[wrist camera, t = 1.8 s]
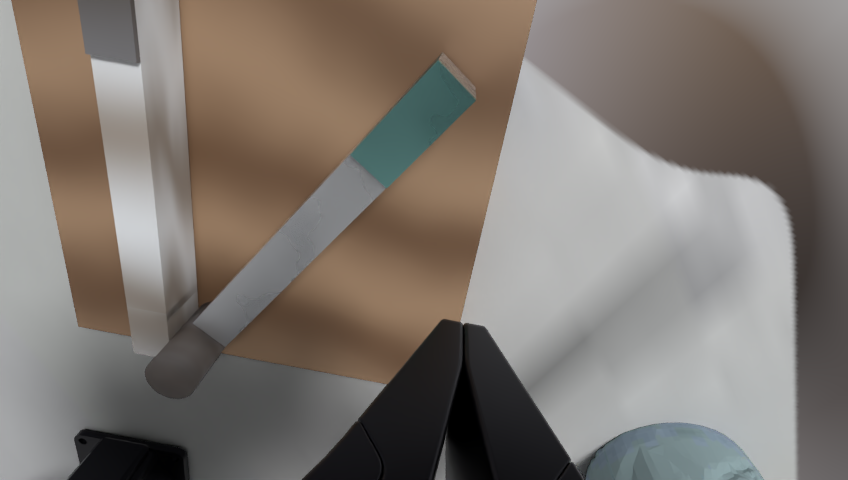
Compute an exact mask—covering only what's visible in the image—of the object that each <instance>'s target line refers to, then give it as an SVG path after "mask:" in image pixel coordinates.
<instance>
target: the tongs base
mask: <svg viewBox="0 0 848 480" xmlns="http://www.w3.org/2000/svg"><path fill="white" fill-rule="evenodd" d="M11 1H12V6H13V11H14V16H15V21H16V25H17V30H18V35H19V40H20V45H21V50H22V55H23V59H24V64H25V69H26V74H27V79H28V84H29V89H30V93H31V98H32V103H33V108H34V113H35V118H36V123H37V127H38V132H39V137H40V142H41V147H42V152H43V157H44V161H45V166H46V171H47V176H48V181H49V186H50V191H51V196H52V200H53V205H54V210H55V215H56V220H57V225H58V230H59V234H60V239H61V244H62V249H63V254H64V259H65V264H66V268H67V273H68V278H69V283H70V288H71V293H72V298H73V302H74V307H75V312H76V317H77V322H78V326H79V327H84V328H89V329H95V330H100V331H105V332H111V333H116V334H121V335H127V336H131V338H132V345H133V352H134V353H136V354H141V355H147V356H152V357H155V358H154V359H153V360H152V361H151V362H150V363H149V364H148V365H147V367H146V369H145V377H146V380H147V382H148V383H149V385H150V386H151V387H152V388H153V389H154V390H155V391H156V392H158V393H159V394H161V395H163V396H166V397H169V398H173V399H182V398H186V397H188V396H190V395H191V394H192V393H193V392H194V390H195V389H196V387H197V386H198V385H199V383H200V382H201V380H202V379H203V378H204V376H205V375H206V373H207V372H208V371H209V369H210V368H211V367H212V365H213V364H214V362H215V361H216V360H217V358H218V357H219V355H220V354H221V353H223V354H229V355H234V356H239V357H245V358H250V359H255V360H261V361H266V362H271V363H277V364H282V365H288V366H293V367H298V368H304V369H309V370H314V371H320V372H325V373H330V374H336V375H341V376H346V377H352V378H357V379H363V380H368V381H373V382H379V383H384V384H388V383H389V382H390V381H391V379H392V378H393V377H394V376H395V375H396V373H397V372H398V371H399V370H400V369H401V367H402V366H403V365H404V364H405V363H406V361H407V360H408V359H409V358H410V357H411V355H412V354H413V353H414V352H415V351H416V349H417V348H418V347H419V346H420V345H421V343H422V342H423V341H424V340H425V339H426V337H427V336H428V335H429V334H430V333H431V331H432V330H433V329H434V328H435V327H436V325H437V324H438V323H439V322H440V321H441V320H442V319H448V320H453V321H459V322H460V320H461V316H462V312H463V307H464V303H465V299H466V295H467V291H468V287H469V282H470V278H471V274H472V270H473V266H474V261H475V257H476V253H477V249H478V245H479V241H480V236H481V232H482V228H483V224H484V220H485V215H486V211H487V207H488V203H489V199H490V195H491V190H492V186H493V182H494V178H495V174H496V170H497V165H498V161H499V157H500V153H501V149H502V144H503V140H504V136H505V132H506V128H507V124H508V119H509V115H510V111H511V107H512V103H513V98H514V94H515V90H516V86H517V82H518V78H519V73H520V69H521V65H522V61H523V57H524V52H525V48H526V44H527V40H528V36H529V31H530V27H531V23H532V19H533V15H534V11H535V6H536V2H537V0H11ZM442 53H444V54H445V55H446V56H447V57H448V58H449V59H450V60H451V61H452V62H453V63H454V64H455V66H456V67H457V68H458V69H459V70H460V71H461V72H462V73H463V74H464V75H465V76H466V77H467V78H468V79H469V80H470V82H471V83H472V84H473V85H474V86H475V87H476V101H475V102H474V103H473V104H472V105H471V106H470V107H469V108H468V109H467V110H466V111H465V112H464V113H463V114H462V115H461V116H460V117H459V118H458V119H457V120H456V121H455V122H454V123H453V124H452V125H451V126H450V127H449V128H448V129H447V130H446V131H445V132H444V133H443V134H442V135H441V136H440V137H439V138H438V139H436V140H435V141H434V142H433V143H432V144H431V145H430V146H429V147H428V148H427V149H426V150H425V151H424V152H423V153H422V154H421V155H420V156H419V157H418V158H417V159H416V160H415V161H414V162H413V163H412V164H411V165H410V166H409V167H408V168H407V169H406V170H405V171H404V172H403V173H402V174H401V175H400V176H399V177H398V178H397V179H396V180H395V181H394V182H393V183H392V184H391V185H390V186H389V187H388V188H386V189H385V190H384V191H383V192H382V193H381V194H380V195H379V196H378V197H377V198H376V199H375V200H374V201H373V202H372V203H371V204H370V205H369V206H368V207H366V208H365V209H364V210H363V211H362V212H361V213H360V214H359V215H358V216H357V217H356V218H355V219H354V220H353V221H352V222H351V223H350V224H349V225H348V226H347V227H346V228H345V229H344V230H343V231H342V232H341V233H340V234H339V235H338V236H337V237H336V238H335V239H334V240H333V241H332V242H331V243H330V244H329V245H328V246H327V247H326V248H325V249H324V250H323V251H322V252H321V253H320V254H319V255H318V256H317V257H316V258H315V259H314V260H313V261H312V262H311V263H310V264H309V265H308V266H307V267H306V268H305V269H304V270H303V271H302V272H301V273H300V274H299V275H298V276H297V277H296V278H295V279H294V280H293V281H292V282H291V283H290V284H289V285H288V286H287V287H286V288H285V289H284V290H283V291H282V292H281V293H280V294H278V295H277V296H276V297H275V298H274V299H273V300H272V301H271V302H270V303H269V304H268V305H267V306H266V307H265V308H264V309H263V310H262V311H261V312H260V313H259V314H258V315H257V316H256V317H255V318H254V319H253V320H252V321H251V322H250V323H249V324H248V325H247V326H246V327H245V328H244V329H243V330H242V331H241V332H240V333H239V334H238V335H237V336H236V337H235V338H234V339H233V340H232V341H231V342H230V343H229V344H228V345H227V346H226V347H224V346H223V345H222V344H220V343H219V342H217V341H216V340H215V339H213V338H212V337H211V336H209V335H208V334H206V333H205V332H204V331H202V330H201V329H200V328H198V327H197V326H195V325H194V324H193V322H194V321H195V320H196V319H197V318H198V317H199V315H200V314H201V313H202V312H203V311H204V310H205V309H206V307H207V306H208V305H209V304H210V303H211V302H212V301H213V299H214V298H215V297H216V296H217V295H218V294H219V293H220V291H221V290H222V289H223V288H224V287H225V286H226V285H227V284H228V283H229V282H230V281H231V280H232V278H233V277H234V276H235V275H236V274H237V273H238V272H239V271H240V270H241V269H242V268H243V267H244V266H245V264H246V263H247V262H248V261H249V260H250V259H251V258H252V257H253V256H254V255H255V254H256V253H257V252H258V250H259V249H260V248H261V247H262V246H263V245H264V244H265V243H266V242H267V241H268V240H269V239H270V238H271V236H272V235H273V234H274V233H275V232H276V231H277V230H278V229H279V228H280V227H281V226H282V225H283V224H284V223H285V221H286V220H287V219H288V218H289V217H290V216H291V215H292V214H293V213H294V212H295V211H296V210H297V209H298V207H299V206H300V205H301V204H302V203H303V202H304V201H305V200H306V199H307V198H308V197H309V196H310V195H311V193H312V192H313V191H314V190H315V189H316V188H317V187H318V186H319V185H320V184H321V183H322V182H323V181H324V179H325V178H326V177H327V176H328V175H329V174H330V173H331V172H332V171H333V170H334V169H335V168H336V167H337V165H338V164H339V163H340V162H341V161H342V160H343V159H344V158H345V157H346V156H347V155H348V154H349V153H350V151H351V150H352V149H353V148H354V147H355V146H356V145H357V144H358V143H359V142H360V141H361V140H362V139H363V138H364V136H365V135H366V134H367V133H368V132H369V131H370V130H371V129H372V128H373V127H374V126H375V125H376V124H377V122H378V121H379V120H380V119H381V118H382V117H383V116H384V115H385V114H386V113H387V112H388V111H389V110H390V108H391V107H392V106H393V105H394V104H395V103H396V102H397V101H398V100H399V99H400V98H401V97H402V96H403V94H404V93H405V92H406V91H407V90H408V89H409V88H410V87H411V86H412V85H413V84H414V83H415V82H416V80H417V79H418V78H419V77H420V76H421V75H422V74H423V73H424V72H425V71H426V70H427V69H428V68H429V66H430V65H431V64H432V63H433V62H434V61H435V60H436V59H437V58H438V57H439V56H440V55H441V54H442Z"/></svg>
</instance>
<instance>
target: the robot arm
mask: <svg viewBox="0 0 848 480" xmlns="http://www.w3.org/2000/svg"><path fill="white" fill-rule="evenodd" d="M445 436H446V450H445V455H446V480H584V478H583V477H582V475H581V474H580V472H579V470H578V469H577V467H576V466H575V464H574V463H572V462H571V459H570V457H569V455H568V454H567V452H566V451H565V449H564V448H563V446H562V445H561V443H560V441H559V440H558V438H557V437H556V435H555V434H554V432H553V431H552V429H551V428H550V426H549V425H548V423H547V421H546V420H545V418H544V417H543V415H542V414H541V412H540V411H539V409H538V408H537V406H536V404H535V403H534V401H533V400H532V398H531V397H530V395H529V394H528V392H527V391H526V389H525V387H524V386H523V384H522V383H521V381H520V380H519V378H518V377H517V375H516V374H515V372H514V370H513V369H512V367H511V366H510V364H509V363H508V361H507V360H506V358H505V357H504V355H503V353H502V352H501V350H500V349H499V347H498V346H497V344H496V343H495V341H494V340H493V338H492V337H491V335H490V333H489V332H488V330H487V329H486V328H485V327H484V326H480V325H475V324H469V323H465V324H464V325H463V324H462V323H461V322H459V321H453V320H448V319H442V320H441V321H440V322H439V323H438V324H437V325H436V327H435V328H434V329H433V330H432V331H431V333H430V334H429V335H428V336H427V337H426V339H425V340H424V341H423V342H422V343H421V345H420V346H419V347H418V348H417V349H416V351H415V352H414V353H413V354H412V355H411V357H410V358H409V359H408V360H407V361H406V363H405V364H404V365H403V366H402V367H401V369H400V370H399V371H398V372H397V373H396V375H395V376H394V377H393V378H392V379H391V381H390V382H389V383H388V384H387V385H386V387H385V388H384V389H383V390H382V391H381V393H380V394H379V395H378V396H377V397H376V398H375V400H374V401H373V402H372V403H371V404H370V406H369V407H368V408H367V409H366V410H365V412H364V413H363V414H362V415H361V416H360V418H359V419H358V421H357V422H355V423H354V424H353V426H352V427H351V428H350V429H349V430H348V432H347V433H346V434H345V435H344V436H343V438H342V439H341V440H340V441H339V442H338V443H337V444H336V445H335V446H334V448H333V449H332V450H331V451H330V452H329V453H328V454H327V455H326V456H325V458H323V459H322V460H321V461H320V462H319V463H318V464H317V465H316V466H315V467H314V468H313V469H312V470H311V471H310V472H309V473H308V474H307V475H306V476H305V477H304V478H303V479H302V480H435V476H436V472H437V468H438V464H439V460H440V456H441V452H442V448H443V444H444V440H445ZM74 441H75V445H76V449H77V453H78V457H79V461H80V465H79V466H78V467H77V468H76V469H75V470H74V472H73V473H72V474H71V475H70V476H69V478H68V479H67V480H189V471H188V460H187V453H186V452H185V450H183V449H182V448H179V447H174V446H169V445H164V444H158V443H153V442H148V441H142V440H137V439H132V438H126V437H121V436H116V435H111V434H105V433H100V432H95V431H89V430H81V431H80V432H79V433H78V434H77V435H76V436H75V438H74ZM570 462H571V463H570Z"/></svg>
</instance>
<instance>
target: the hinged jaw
mask: <svg viewBox="0 0 848 480" xmlns="http://www.w3.org/2000/svg"><path fill="white" fill-rule="evenodd" d="M475 101H476V87H475V86H474V85H473V84H472V83H471V82H470V80H469V79H468V78H467V77H466V76H465V75H464V74H463V73H462V72H461V71H460V70H459V69H458V68H457V67H456V66H455V64H454V63H453V62H452V61H451V60H450V59H449V58H448V57H447V56H446V55H445V54H444V53H442V54H441V55H440V56H439V57H438V58H437V59H436V60H435V61H434V62H433V63H432V64H431V65H430V66H429V68H428V69H427V70H426V71H425V72H424V73H423V74H422V75H421V76H420V77H419V78H418V79H417V80H416V82H415V83H414V84H413V85H412V86H411V87H410V88H409V89H408V90H407V91H406V92H405V93H404V94H403V96H402V97H401V98H400V99H399V100H398V101H397V102H396V103H395V104H394V105H393V106H392V107H391V108H390V110H389V111H388V112H387V113H386V114H385V115H384V116H383V117H382V118H381V119H380V120H379V121H378V122H377V124H376V125H375V126H374V127H373V128H372V129H371V130H370V131H369V132H368V133H367V134H366V135H365V136H364V138H363V139H362V140H361V141H360V142H359V143H358V144H357V145H356V146H355V147H354V148H353V149H352V150H351V151H350V153H349V154H348V155H347V156H346V157H345V158H344V159H343V160H342V161H341V162H340V163H339V164H338V165H337V167H336V168H335V169H334V170H333V171H332V172H331V173H330V174H329V175H328V176H327V177H326V178H325V179H324V181H323V182H322V183H321V184H320V185H319V186H318V187H317V188H316V189H315V190H314V191H313V192H312V193H311V195H310V196H309V197H308V198H307V199H306V200H305V201H304V202H303V203H302V204H301V205H300V206H299V207H298V209H297V210H296V211H295V212H294V213H293V214H292V215H291V216H290V217H289V218H288V219H287V220H286V221H285V223H284V224H283V225H282V226H281V227H280V228H279V229H278V230H277V231H276V232H275V233H274V234H273V235H272V236H271V238H270V239H269V240H268V241H267V242H266V243H265V244H264V245H263V246H262V247H261V248H260V249H259V250H258V252H257V253H256V254H255V255H254V256H253V257H252V258H251V259H250V260H249V261H248V262H247V263H246V264H245V266H244V267H243V268H242V269H241V270H240V271H239V272H238V273H237V274H236V275H235V276H234V277H233V278H232V280H231V281H230V282H229V283H228V284H227V285H226V286H225V287H224V288H223V289H222V290H221V291H220V293H219V294H218V295H217V296H216V297H215V298H214V299H213V301H212V302H211V303H210V304H209V305H208V306H207V307H206V309H205V310H204V311H203V312H202V313H201V314H200V315H199V317H198V318H197V319H196V320H195V321H194V322H193V324H194V325H195V326H197V327H198V328H200V329H201V330H202V331H204V332H205V333H206V334H208V335H209V336H211V337H212V338H213V339H215V340H216V341H217V342H219V343H220V344H222V345H223V346H224V347H226V346H227V345H228V344H229V343H230V342H231V341H232V340H233V339H234V338H235V337H236V336H237V335H238V334H239V333H240V332H241V331H242V330H243V329H244V328H245V327H246V326H247V325H248V324H249V323H250V322H251V321H252V320H253V319H254V318H255V317H256V316H257V315H258V314H259V313H260V312H261V311H262V310H263V309H264V308H265V307H266V306H267V305H268V304H269V303H270V302H271V301H272V300H273V299H274V298H275V297H276V296H277V295H278V294H280V293H281V292H282V291H283V290H284V289H285V288H286V287H287V286H288V285H289V284H290V283H291V282H292V281H293V280H294V279H295V278H296V277H297V276H298V275H299V274H300V273H301V272H302V271H303V270H304V269H305V268H306V267H307V266H308V265H309V264H310V263H311V262H312V261H313V260H314V259H315V258H316V257H317V256H318V255H319V254H320V253H321V252H322V251H323V250H324V249H325V248H326V247H327V246H328V245H329V244H330V243H331V242H332V241H333V240H334V239H335V238H336V237H337V236H338V235H339V234H340V233H341V232H342V231H343V230H344V229H345V228H346V227H347V226H348V225H349V224H350V223H351V222H352V221H353V220H354V219H355V218H356V217H357V216H358V215H359V214H360V213H361V212H362V211H363V210H364V209H365V208H366V207H368V206H369V205H370V204H371V203H372V202H373V201H374V200H375V199H376V198H377V197H378V196H379V195H380V194H381V193H382V192H383V191H384V190H385V189H386V188H388V187H389V186H390V185H391V184H392V183H393V182H394V181H395V180H396V179H397V178H398V177H399V176H400V175H401V174H402V173H403V172H404V171H405V170H406V169H407V168H408V167H409V166H410V165H411V164H412V163H413V162H414V161H415V160H416V159H417V158H418V157H419V156H420V155H421V154H422V153H423V152H424V151H425V150H426V149H427V148H428V147H429V146H430V145H431V144H432V143H433V142H434V141H435V140H436V139H438V138H439V137H440V136H441V135H442V134H443V133H444V132H445V131H446V130H447V129H448V128H449V127H450V126H451V125H452V124H453V123H454V122H455V121H456V120H457V119H458V118H459V117H460V116H461V115H462V114H463V113H464V112H465V111H466V110H467V109H468V108H469V107H470V106H471V105H472V104H473V103H474V102H475Z"/></svg>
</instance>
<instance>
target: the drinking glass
mask: <svg viewBox="0 0 848 480" xmlns="http://www.w3.org/2000/svg"><path fill="white" fill-rule="evenodd" d="M585 480H764V479H763V478H762V476H761V474H760V473H759V471H758V470H757V469H756V467H755V466H754V465H753V463H752V462H751V461H750V459H749V458H748V457H747V455H746V454H745V453H744V452H743V450H742V449H741V448H740V447H739V446H738V445H737V444H736V443H735V442H733V441H732V440H731V439H729V438H728V437H727V436H725V435H724V434H722V433H720V432H718V431H716V430H713V429H710V428H707V427H704V426H700V425H694V424H688V423H662V424H654V425H649V426H645V427H640V428H637V429H634V430H631V431H628V432H625V433H622V434H621V435H619V436H618V437H616V438H615V439H613V440H612V441H610V442H608V443H607V444H605V446H604V447H603V448H602V449H598V451H597V452H596V454H595V458H594V459H592V460H591V464H590V465H589V466H588V470H587V474H586V479H585Z"/></svg>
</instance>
